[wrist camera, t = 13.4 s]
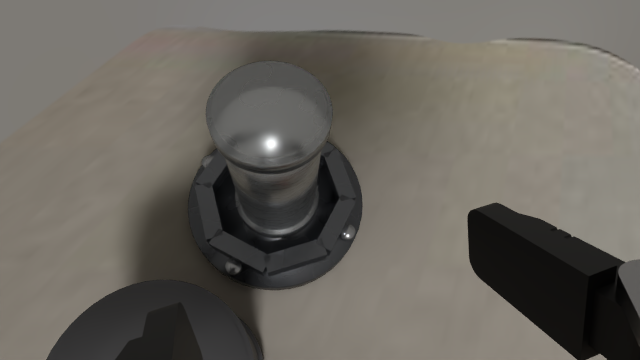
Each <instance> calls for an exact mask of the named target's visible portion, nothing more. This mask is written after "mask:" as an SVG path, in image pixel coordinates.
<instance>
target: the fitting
mask: <svg viewBox="0 0 640 360" xmlns="http://www.w3.org/2000/svg"><path fill="white" fill-rule="evenodd" d="M206 120H207V125H208V128H209V131H210V134H211V137H212V139H213V142H214V144H215V146H216V148H217V149H218V150H219V152H220V153H221V154H222V155H223V156H224V157H225V159H226V162H227V165H228V168H229V171H230V174H231V178H232V181H233V184H234V187H235V190H236V192H235V202H236V206H237V209H238V212H239V215H240V217H241V219H242V221H243V222H244V223H245V225H246V226H247V227H248V228H250V229H251V230H252V231H254V232H255V233H257V234H259V235H261V236H265V237H269V238H285V237H289V236H292V235H294V234H296V233H298V232H300V231H301V230H303V229H304V228H305V227H306V226H307V225H308V224H309V223H310V222H311V220H312V219H313V217H314V215H315V213H316V210H317V205H318V199H319V191H318V186H317V178H318V170H319V163H320V156H321V150H322V149H323V147H324V146H325V144H326V142H327V140H328V137H329V134H330V128H331V122H332V103H331V100H330V97H329V94H328V92H327V90H326V89H325V87H324V86H323V84H322V83H321V82H320V81H319V80H318V79H317V78H316V77H315V76H313V75H312V74H311V73H309V72H308V71H306V70H304V69H302V68H300V67H298V66H296V65H293V64H289V63H285V62H279V61H260V62H254V63H250V64H246V65H244V66H241V67H239V68H237V69H235V70H233V71H231V72H230V73H228V74H227V75H226V76H224V77H223V78H222V79H221V80H220V81H219V82H218V83H217V84H216V86H215V87H214V89H213V90H212V92H211V94H210V96H209V99H208V102H207V107H206Z"/></svg>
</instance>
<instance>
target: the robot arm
mask: <svg viewBox="0 0 640 360" xmlns="http://www.w3.org/2000/svg"><path fill="white" fill-rule="evenodd" d="M468 241H469V259H470V263H471V266H472V268H473V270H474V272H475V273H476V275H477V276H478V277H479V278H480V279H481V280H482V281H484V282H485V283H486V284H487V285H488V286H490V287H491V288H492V289H493V290H494V291H496V292H497V293H498V294H499V295H500V296H502V297H503V298H504V299H505V300H506V301H508V302H509V303H510V304H511V305H512V306H514V307H515V308H516V309H517V310H518V311H520V312H521V313H522V314H523V315H524V316H526V317H527V318H528V319H529V320H530V321H532V322H533V323H534V324H535V325H536V326H538V327H539V328H540V329H541V330H542V331H544V332H545V333H546V334H547V335H548V336H550V337H551V338H552V339H553V340H554V341H556V342H557V343H558V344H559V345H560V346H562V347H563V348H564V349H565V350H566V351H568V352H569V353H570V354H571V355H572V356H574V357H575V358H576V359H577V360H586V359H589V358H591V357H593V356H596V355H598V354H601V355H603V356H604V357H605V358H607V360H640V260H632V261H629V262H624V261H622V260H620V259H618V258H616V257H614V256H612V255H610V254H608V253H606V252H604V251H602V250H600V249H598V248H596V247H594V246H592V245H590V244H588V243H586V242H584V241H582V240H580V239H578V238H576V237H571V234H569V233H567V232H565V231H563V230H561V229H559V230H557V227H555V226H553V225H551V224H549V223H547V222H545V221H543V220H541V219H538V218H535V217H531V216H527V215H523V214H519V213H517V212H515V211H513V210H511V209H509V208H507V207H505V206H503V205H501V204H499V203H492V204H489V205H486V206H483V207H480V208H477V209H473V210H471V211H470V212H469V214H468ZM115 360H203V357H202V353H201V350H200V347H199V344H198V342H197V339H196V337H195V334H194V332H193V329H192V326H191V324H190V321H189V319H188V316H187V313H186V311H185V308H184V306H183V304H182V303H181V302H178V303H175V304H172V305H169V306H165V307H162V308H159V309H156V310H153V311H150V312H148V313H147V316H146V321H145V325H144V330H143V335H142V337H139V338H136V339H133V340H130V341H128V342H127V344H126V345H125V347H124V348H123V349H122V351H121V352H120V354H119V355H118V356H117V358H116V359H115Z"/></svg>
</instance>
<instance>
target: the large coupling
mask: <svg viewBox="0 0 640 360" xmlns="http://www.w3.org/2000/svg"><path fill="white" fill-rule="evenodd" d="M178 302H181V303H182V304H183V306H184V308H185V311H186V313H187V316H188V319H189V321H190V324H191V326H192V329H193V332H194V334H195V337H196V339H197V342H198V344H199V347H200V350H201V353H202V357H203V360H263V355H262V352H261V349H260V346H259V344H258V341H257V339H256V337H255V336H254V334H253V333H252V331H251V330H250V329H249V328H248V326H247V325H246V324H245V323H244V322H243V321H242V320H241V319H239V318H238V317H237V316H236V315H235V313H234V312H233V311H232V310H231V309H230V308H229V307H228V306H227V305H226V304H225V303H224V302H223V301H222V300H220V299H219V298H218V297H217V296H215V295H214V294H212V293H211V292H209V291H207V290H205V289H203V288H201V287H199V286H197V285H193V284H190V283H186V282H182V281H175V280H153V281H145V282H141V283H137V284H133V285H130V286H127V287H124V288H122V289H119V290H117V291H115V292H113V293H111V294H109V295H107V296H105V297H104V298H102V299H101V300H99V301H98V302H96V303H94V304H93V305H92V306H91V307H89V308H88V309H87V310H86V311H84V312H83V313H82V314H81V315H80V316H79V317H78V318H77V319H76V320H75V321H74V322H73V323H72V324H71V325H70V326H69V327H68V328H67V329H66V331H65V332H64V333H63V334H62V335H61V337H60V338H59V340H58V341H57V343H56V344H55V346H54V347H53V349H52V350H51V352H50V354H49V356H48V357H47V359H46V360H115V359H116V358H117V356H118V355H119V354H120V352H121V351H122V349H123V348H124V347H125V345H126V344H127V342H128V341H130V340H133V339H136V338H139V337H142V335H143V330H144V325H145V321H146V316H147V313H148V312H150V311H153V310H156V309H159V308H162V307H165V306H169V305H172V304H175V303H178Z"/></svg>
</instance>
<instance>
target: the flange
mask: <svg viewBox="0 0 640 360" xmlns="http://www.w3.org/2000/svg"><path fill="white" fill-rule="evenodd" d="M317 186H318V191H319V199H318V205H317V210H316V213H315V215H314V217H313V219H312V220H311V222H310V223H309V224H308V225H307V226H306V227H305V228H304V229H303V230H301V231H300V232H298V233H296V234H294V235H292V236H289V237H285V238H269V237H265V236H261V235H259V234H257V233H255V232H254V231H252V230H251V229H250V228H248V227H247V226H246V225H245V223H244V222H243V221H242V219H241V217H240V215H239V212H238V209H237V206H236V202H235V192H236V190H235V187H234V184H233V181H232V178H231V174H230V171H229V168H228V165H227V162H226V159H225V157H224V156H223V155H222V154H221V153H220V152H219V150H218V149H215V150H214V151H213V152H212V153H211V154H210V155H208V156H205V157H204V158H203V159H202V166H201V167H200V169H199V170H198V172H197V174H196V176H195V178H194V180H193V183H192V187H191V190H190V195H189V201H188V215H189V223H190V227H191V230H192V234H193V236H194V238H195V241H196V243H197V245H198V246H199V248H200V249H201V251H202V253H203V254H204V255H205V256H206V258H207V259H208V260H209V261H210V262H211V263H212V265H213V266H214V267H216V268H217V269H218V270H219V271H220V272H221V273H222V274H224V275H226V276H227V277H229V278H230V279H232V280H234V281H236V282H238V283H240V284H243V285H246V286H249V287H252V288H257V289H264V290H284V289H291V288H295V287H299V286H303V285H305V284H308V283H310V282H313V281H315V280H316V279H318V278H320V277H322V276H323V275H325V274H326V273H327V272H329V271H330V270H331V269H333V268H334V267H335V266H336V265H337V264H338V263H339V262H340V261H341V259H342V258H343V257H344V255H345V254H346V253H347V251H348V250H349V248H350V246H351V244H352V243H353V241H354V239H355V236H356V234H357V231H358V229H359V225H360V221H361V216H362V194H361V189H360V185H359V182H358V179H357V176H356V174H355V172H354V170H353V168H352V166H351V165H350V163H349V162H348V160H347V159H346V158H345V157H344V155H343V154H342V153H341V152H340V151H339V150H338V149H337V148H336V147H335V146H333V145H332V144H331V143H329V142H328V141H327V142H326V144H325V146H324V147H323V149H322V150H321V156H320V163H319V170H318V178H317Z"/></svg>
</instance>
